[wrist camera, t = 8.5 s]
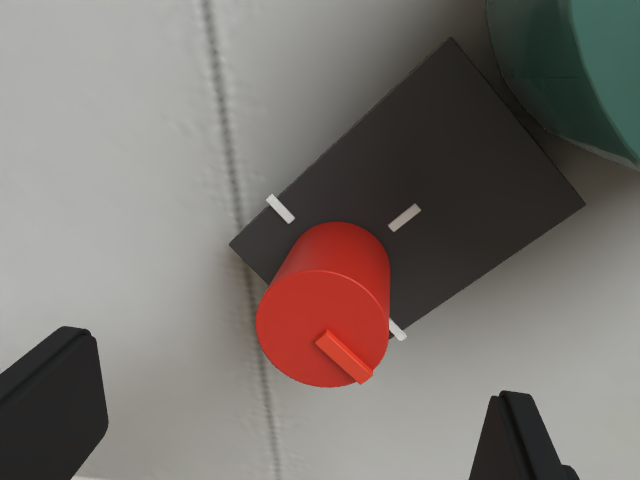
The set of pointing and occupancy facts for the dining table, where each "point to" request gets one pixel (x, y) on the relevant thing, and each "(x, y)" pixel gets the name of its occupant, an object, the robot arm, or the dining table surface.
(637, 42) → the pot lid
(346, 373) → the knob
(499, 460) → the robot arm
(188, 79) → the dining table surface
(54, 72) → the dining table surface
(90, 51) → the dining table surface
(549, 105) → the pot
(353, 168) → the marked dark base plate
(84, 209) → the dining table surface
